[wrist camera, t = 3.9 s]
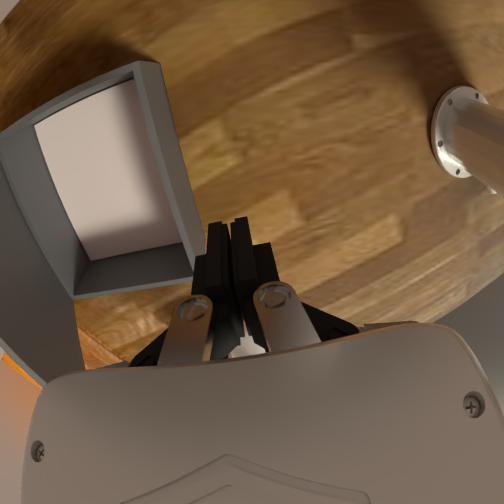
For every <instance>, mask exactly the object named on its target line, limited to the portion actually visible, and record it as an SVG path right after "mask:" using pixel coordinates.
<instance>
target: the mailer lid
mask: <svg viewBox="0 0 504 504" xmlns="http://www.w3.org/2000/svg"><path fill="white" fill-rule="evenodd" d="M0 347H1V348H2V349H3V350H4V351H5V352H6V353H7V354H8V355H9V356H10V357H11V358H12V359H13V360H14V361H15V362H16V363H17V364H18V365H19V366H20V367H21V368H22V369H23V370H24V371H25V372H26V373H27V374H28V375H29V376H30V377H32V378H33V379H34V380H35V381H36V382H37V383H38V384H40V385H41V386H42V387H43V388H44V386H45V385H46V384H47V383H48V382H50V381H51V380H53V379H55V378H56V377H59V376H61V375H64V374H67V373H71V372H75V371H80V370H85V365H84V361H83V356H82V352H81V347H80V341H79V336H78V330H77V324H76V317H75V310H74V302H73V300H72V299H71V297H70V296H69V294H68V293H67V291H66V290H65V288H64V287H63V285H62V284H61V282H60V281H59V279H58V277H57V276H56V274H55V273H54V271H53V269H52V268H51V266H50V264H49V263H48V261H47V259H46V258H45V256H44V254H43V252H42V251H41V249H40V247H39V245H38V243H37V242H36V240H35V238H34V236H33V234H32V232H31V230H30V228H29V226H28V224H27V222H26V220H25V218H24V216H23V214H22V212H21V210H20V207H19V205H18V203H17V201H16V198H15V196H14V194H13V192H12V189H11V187H10V184H9V182H8V179H7V177H6V174H5V171H4V169H3V166H2V163H1V160H0Z"/></svg>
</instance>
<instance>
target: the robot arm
mask: <svg viewBox="0 0 504 504" xmlns="http://www.w3.org/2000/svg"><path fill="white" fill-rule="evenodd" d="M431 142H432V148H433V152H434V155H435V158H436V159H437V161H438V163H439V165H440V166H441V167H442V168H443V169H444V170H445V171H446V172H448V173H449V174H451V175H452V176H454V177H458V178H466V177H469V176H472V175H473V176H474V177H475V178H477V179H478V180H480V181H481V182H483V183H484V184H485V185H486V187H487V190H488V192H489V193H490V194H495V193H496V192H497V193H498V194H499V195H501V196H502V197H503V198H504V110H501V109H499V108H496V107H493V106H491V105H489V103H488V102H487V100H486V98H485V97H484V96H483V95H482V94H481V93H480V92H479V91H477V90H476V89H474V88H471V87H468V86H455V87H452V88H451V89H449V90H448V91H446V92H445V93H444V95H443V96H442V97H441V98H440V100H439V102H438V103H437V105H436V108H435V111H434V114H433V118H432V124H431ZM230 227H231V239H230V235H229V230H228V226H227V224H222V222H221V221H220V222H215V223H210V224H209V225H208V237H207V251H206V254H203V255H198V256H196V257H195V264H194V273H193V282H192V292H191V296H188V297H186V298H184V299H183V300H181V301H180V302H179V303H178V304H177V305H176V307H175V309H174V311H173V314H172V317H171V321H170V324H169V327H168V329H167V330H165V331H164V332H163V333H162V334H161V335H160V336H158V337H157V338H156V339H155V340H154V341H153V342H151V343H150V344H149V345H148V346H147V347H146V348H144V349H143V350H142V351H141V352H140V353H139V354H137V355H136V356H135V357H134V358H133V360H132V361H131V363H128V362H127V361H124V362H120V363H116V364H112V365H108V366H105V367H101V368H97V369H88V370H80V371H75V372H71V373H67V374H64V375H61V376H59V377H56V378H55V379H53V380H51V381H50V382H48V383H47V384H46V385H45V386H44V388H43V389H42V391H41V393H40V395H39V397H38V399H37V402H36V405H35V408H34V411H33V415H32V418H31V422H30V427H29V432H28V436H27V441H26V448H25V455H24V462H23V472H22V487H21V488H22V489H21V504H504V415H503V413H502V411H501V408H500V405H499V403H498V400H497V398H496V396H495V393H494V391H493V389H492V386H491V384H490V382H489V380H488V378H487V376H486V374H485V372H484V371H483V369H482V367H481V365H480V363H479V361H478V360H477V358H476V356H475V355H474V353H473V352H472V350H471V349H470V347H469V346H468V345H467V343H466V342H465V341H464V339H463V338H462V337H461V336H460V335H459V334H458V333H457V332H456V331H454V330H453V329H451V328H449V327H446V326H444V325H439V324H433V323H419V322H416V321H402V322H389V323H375V324H364V325H363V327H356V326H355V325H353V324H351V323H349V322H347V321H345V320H342V319H340V318H338V317H335V316H333V315H330V314H328V313H326V312H323V311H321V310H319V309H316V308H314V307H312V306H310V305H307V304H305V303H303V302H300V300H299V298H298V296H297V294H296V292H295V290H294V289H293V288H292V286H290V285H289V284H287V283H285V282H281V281H280V280H279V276H278V272H277V268H276V264H275V260H274V256H273V252H272V248H271V244H270V242H269V243H264V244H258V245H253V244H252V239H251V234H250V229H249V224H248V218H247V216H246V217H241V218H236V219H235V222H232V223H230ZM243 318H244V321H245V325H246V329H247V332H248V335H249V336H252V338H253V341H254V343H255V344H257V345H258V346H260V347H262V348H264V350H265V353H261V354H255V355H249V356H242V357H235V358H232V353H231V351H232V350H233V349H234V348H235V347H236V346H240V345H241V341H240V338H241V337H245V332H244V321H243Z"/></svg>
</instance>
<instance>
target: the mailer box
mask: <svg viewBox="0 0 504 504" xmlns="http://www.w3.org/2000/svg"><path fill="white" fill-rule="evenodd" d="M0 160H1V163H2V166H3V169H4V171H5V174H6V177H7V179H8V182H9V184H10V187H11V189H12V191H13V194H14V196H15V198H16V201H17V203H18V205H19V207H20V210H21V212H22V214H23V216H24V218H25V220H26V222H27V224H28V226H29V228H30V230H31V232H32V234H33V236H34V238H35V240H36V241H37V243H38V245H39V247H40V249H41V251H42V252H43V254H44V256H45V258H46V259H47V261H48V263H49V264H50V266H51V268H52V269H53V271H54V273H55V274H56V276H57V277H58V279H59V281H60V282H61V284H62V285H63V287H64V288H65V290H66V291H67V293H68V294H69V296H70V297H71V299H72V300H77V299H84V298H91V297H98V296H104V295H111V294H118V293H124V292H131V291H137V290H143V289H150V288H156V287H162V286H168V285H174V284H181V283H187V282H193V273H194V264H195V257H196V256H198V255H203V254H205V243H206V238H205V235H204V232H203V228H202V225H201V221H200V218H199V214H198V211H197V207H196V204H195V200H194V197H193V193H192V190H191V186H190V182H189V179H188V175H187V171H186V168H185V164H184V160H183V156H182V152H181V149H180V145H179V141H178V137H177V133H176V129H175V125H174V121H173V117H172V113H171V108H170V104H169V100H168V96H167V91H166V87H165V83H164V78H163V74H162V69H161V65H160V63H154V62H147V61H136V62H133V63H130V64H128V65H125V66H122V67H120V68H117V69H115V70H112V71H110V72H107V73H105V74H102V75H100V76H98V77H96V78H93V79H91V80H89V81H87V82H85V83H83V84H81V85H78V86H76V87H74V88H72V89H70V90H69V91H67V92H65V93H63V94H61V95H59V96H57V97H55V98H54V99H52V100H50V101H48V102H47V103H45V104H43V105H42V106H40V107H38V108H37V109H35V110H33V111H32V112H30V113H29V114H27V115H25V116H24V117H22V118H21V119H19V120H18V121H16V122H15V123H14V124H12V125H11V126H9V127H8V128H7V129H5V130H4V131H2V132H1V133H0Z"/></svg>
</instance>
